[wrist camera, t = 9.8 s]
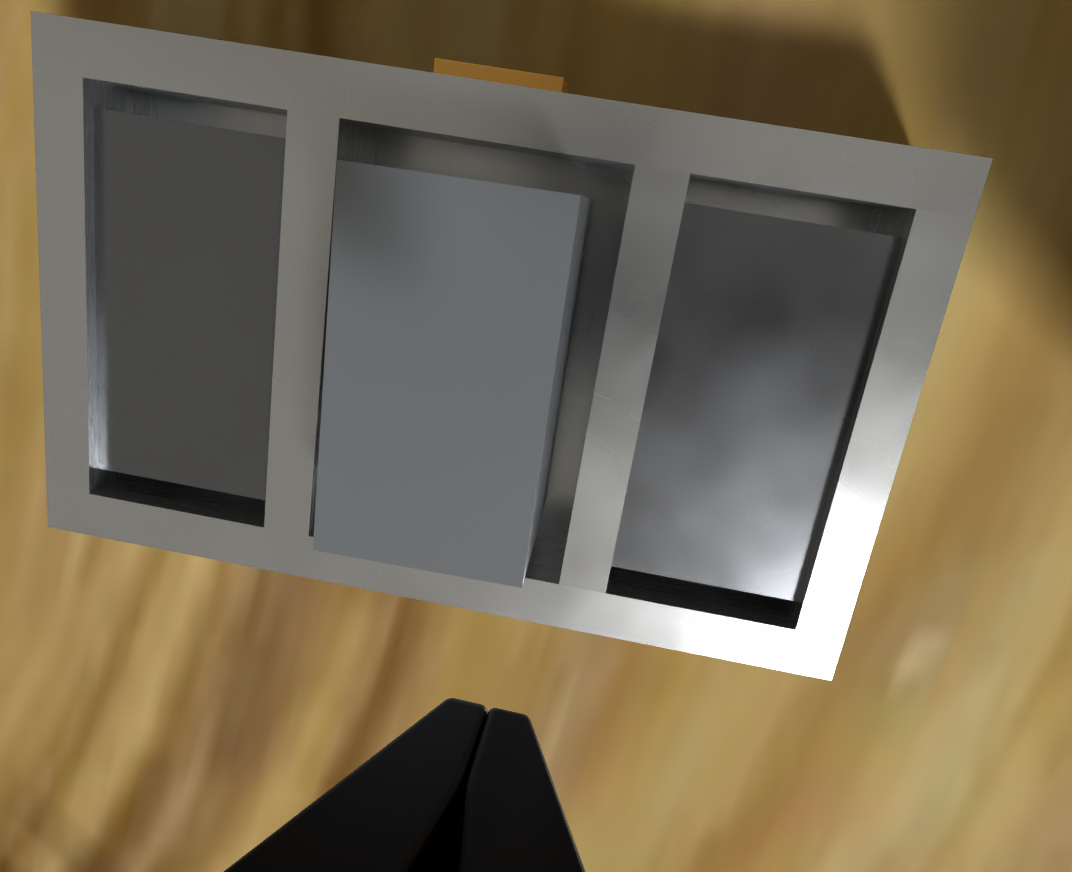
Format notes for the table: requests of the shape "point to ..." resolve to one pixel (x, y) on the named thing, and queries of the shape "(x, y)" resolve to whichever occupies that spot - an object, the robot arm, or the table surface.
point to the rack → (595, 348)
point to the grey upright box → (444, 368)
